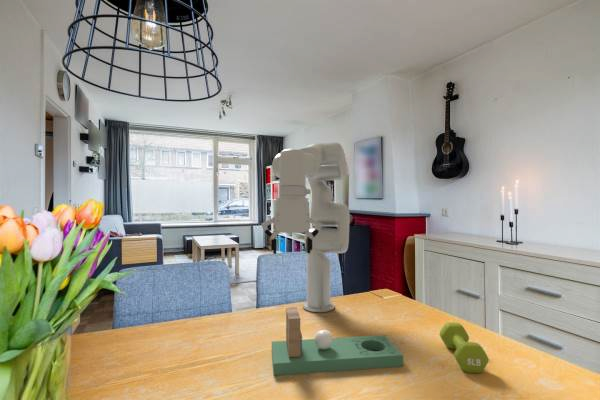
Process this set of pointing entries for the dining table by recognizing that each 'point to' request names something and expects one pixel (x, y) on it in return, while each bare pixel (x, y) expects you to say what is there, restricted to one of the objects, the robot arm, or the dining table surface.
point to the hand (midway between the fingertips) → (291, 253)
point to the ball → (323, 339)
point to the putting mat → (337, 355)
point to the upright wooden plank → (293, 332)
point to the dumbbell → (464, 348)
